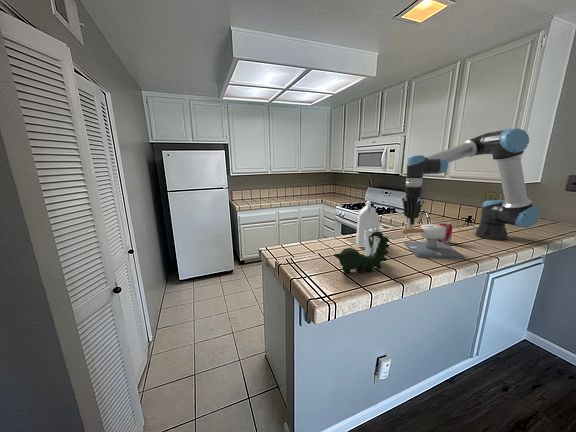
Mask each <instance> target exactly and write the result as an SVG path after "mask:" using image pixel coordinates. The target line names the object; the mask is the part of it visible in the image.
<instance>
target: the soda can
mask: <svg viewBox="0 0 576 432" xmlns="http://www.w3.org/2000/svg"><path fill="white" fill-rule="evenodd" d="M437 225H440V226H444V227H445V228H446V230H445V238H443V239H437V242H443V243H445V244H446V245H448V244H449V243H451V239H452V233H453V225H452V222H449V221H439V223H438V224H437Z"/></svg>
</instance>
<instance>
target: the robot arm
mask: <svg viewBox="0 0 576 432" xmlns="http://www.w3.org/2000/svg"><path fill="white" fill-rule="evenodd" d="M529 143H530V136H529V134H528V132H526V130H524V129H521V128H507V129H502V130H496V131H492V132H491V131H490V132H486V133H483V134H480V135H479V136H475V137H473V138H470V139H467V140H465V141H463V143H462V144H459V145H456V146H453V147H451V148H448V149H445V150H441V151H438V152H436V153H434V154H430V155H428V156H425V155H423V154H421V155H410V156H408V158H407V163H406V176H405V177H406V178H405V190H404V194H405V197H402V198H401V200H402V205H403V215H404V216H405V217H406V228H414V225H415V219H418V218H419V216H420V213H421V211H422V210H421V209H422V206H423V204H424V203H425V202H424V200H422V199H421V196H420V195H421V194H422V192H423V191H422V190H423V187H422V186H423V179H424V175H439V174H444V173H445V172H447V170H448V168H449V163H452V162H456V161H458V160H461V159H464V158H466V157H467V158H472V157H475V156H481V155H492V160H493V161H495V162H497V166H498V172H499V177H500V182H501V187H502V190H503V191H502V192H503V197H504V199H503V200H497V199H496V200H493V199H492V200H485V201H484V202H483V204H482V206H481V215H480V221H479V225H478V227H477V228H476V230H475V232H474V235H475V237H478V238H482V239H486V240H491V241H493V240H494V241H505V240H508V232H507V227H506V224H507V225H511V226H514V227H515V226H516V227H520V228H530V227H532V226H534V225H535V224H536V223H538V221H539V220H540V218H541V214H542V213H541V210H540V208H539V207H537V206H534V205H533V201H532V200H531V199H530V198H528V196H527V190H526V183H525V178H524V172H523V166H522V159H521V156H522V155H523V154H524V152H525V150H526V149H527V147H528V146H529V145H528V144H529Z"/></svg>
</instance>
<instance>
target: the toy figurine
mask: <svg viewBox="0 0 576 432" xmlns="http://www.w3.org/2000/svg"><path fill="white" fill-rule="evenodd" d="M373 236H377V237H378V238H379V243H378V247H377V249H376V252H375V253H374V255H373V256H365V254H362V253H360V252H359V251H358V250H357V249H356V248H353V247H347V248H344V249H343V250H341V252H340V253H335V254H333V256H334V257H335V258H337V259H338V260H339V264H340V265H341V267H342V271H343V273H345V274H350V273H351V270H353V271H354V270H356V269H358V272H360V273H361V274H364V273H365V272H366V270H368V272H369V273H373V272H374V268H376V269H378V270H380V269H382V265H381V262H387V261H388V258H387V257H385V255H388V254H389V251H388V250H387V248H389V247H390V245H389V244H388V243H389V242H390V241H391V240H390V238H388V237H387V236H385V235H384V234H383V233H382V232H381V231H379V232H374V233H372V234H371V236H370V237H373Z"/></svg>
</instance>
